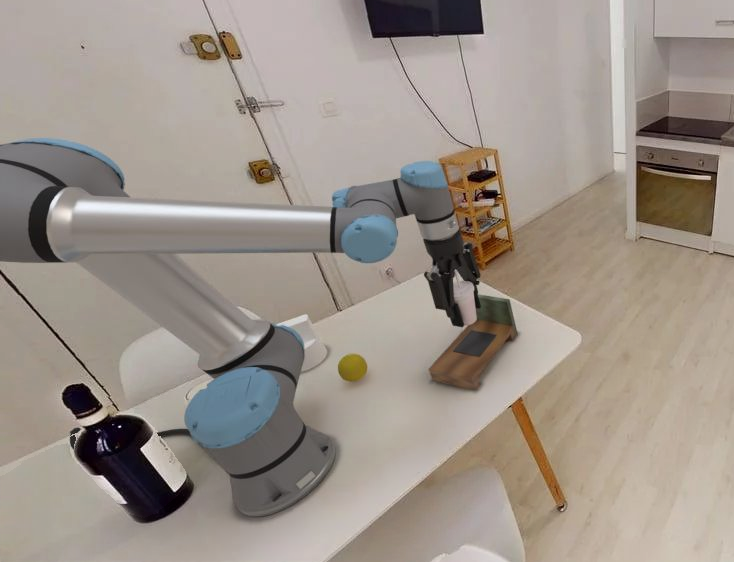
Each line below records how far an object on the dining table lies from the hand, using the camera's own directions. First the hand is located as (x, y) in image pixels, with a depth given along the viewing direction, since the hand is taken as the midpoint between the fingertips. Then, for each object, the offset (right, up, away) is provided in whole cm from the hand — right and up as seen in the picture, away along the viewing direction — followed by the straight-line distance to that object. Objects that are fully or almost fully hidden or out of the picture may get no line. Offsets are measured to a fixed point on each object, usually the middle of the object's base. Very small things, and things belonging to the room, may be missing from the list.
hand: (467, 315), depth 99 cm
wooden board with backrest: (0, -12, +5) cm, 13 cm away
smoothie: (0, -1, +1) cm, 2 cm away
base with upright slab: (-44, -13, +7) cm, 47 cm away
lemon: (-26, -16, 0) cm, 31 cm away
